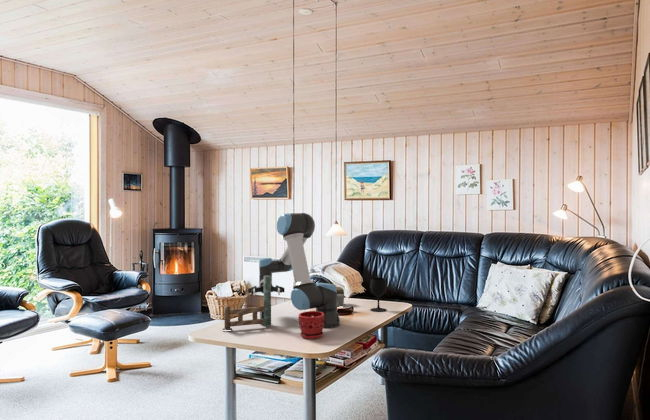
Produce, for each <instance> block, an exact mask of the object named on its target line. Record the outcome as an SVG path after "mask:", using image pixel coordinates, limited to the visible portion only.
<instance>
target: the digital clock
mask: <svg viewBox="0 0 650 420" xmlns="http://www.w3.org/2000/svg"><path fill="white" fill-rule="evenodd" d="M344 303H345V293H344V294H337V307H339V306H344Z"/></svg>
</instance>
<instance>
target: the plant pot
mask: <svg viewBox="0 0 650 420" xmlns="http://www.w3.org/2000/svg"><path fill="white" fill-rule="evenodd" d="M297 317H298V324H299V329H300V336H301V337H302V338H304V339H307V340H314V339H315V340H316V339H317V338H318V339H320V338H322V337H323V335H324V330H323V329H324V328H323V327H324V313H323V312H319V311H316V310H308V311H307V310H306V311H303V312H300V313H298V316H297Z"/></svg>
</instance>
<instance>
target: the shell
mask: <svg viewBox="0 0 650 420" xmlns="http://www.w3.org/2000/svg"><path fill="white" fill-rule="evenodd" d="M336 288H337V294H344V295H345V291H344V289H343V287H342V286H341V287H340V286H336Z"/></svg>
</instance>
